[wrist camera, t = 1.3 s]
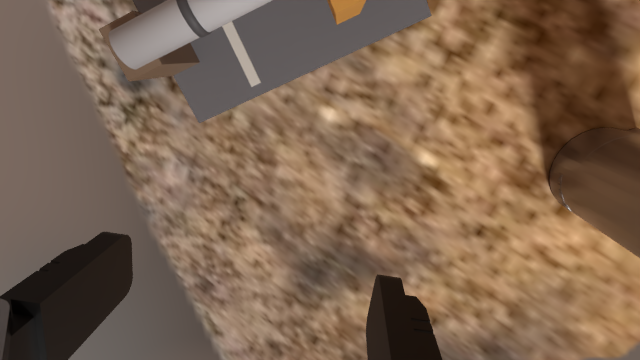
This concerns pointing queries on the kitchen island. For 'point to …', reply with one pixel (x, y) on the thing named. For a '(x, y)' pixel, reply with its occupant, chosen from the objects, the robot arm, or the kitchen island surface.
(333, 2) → the orange square ring
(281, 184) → the kitchen island surface
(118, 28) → the pipe stand
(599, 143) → the robot arm
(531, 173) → the kitchen island surface
